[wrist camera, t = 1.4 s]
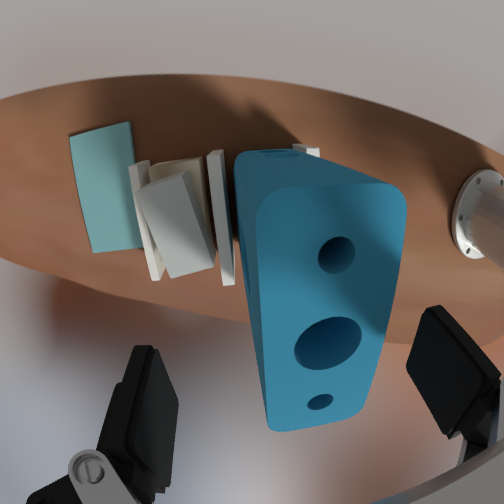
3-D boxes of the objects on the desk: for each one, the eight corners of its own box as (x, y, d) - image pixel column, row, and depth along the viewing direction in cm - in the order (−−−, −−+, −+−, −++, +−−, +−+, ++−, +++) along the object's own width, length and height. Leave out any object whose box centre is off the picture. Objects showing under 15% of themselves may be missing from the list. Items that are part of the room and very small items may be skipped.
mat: (130, 121, 24) (128, 121, 24) (150, 244, 30) (149, 246, 29) (72, 137, 24) (69, 137, 24) (95, 250, 30) (93, 252, 29)
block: (230, 146, 26) (252, 189, 8) (283, 143, 26) (408, 183, 8) (240, 263, 31) (268, 434, 13) (287, 258, 31) (360, 415, 13)
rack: (302, 143, 26) (319, 148, 21) (305, 248, 31) (320, 275, 25) (142, 161, 26) (119, 170, 21) (161, 262, 31) (146, 291, 25)
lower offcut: (203, 156, 27) (198, 159, 24) (215, 251, 31) (213, 266, 28) (158, 162, 27) (148, 167, 24) (174, 255, 31) (167, 270, 28)
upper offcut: (187, 169, 24) (181, 175, 21) (216, 252, 27) (214, 266, 24) (146, 184, 24) (135, 192, 21) (176, 263, 27) (170, 278, 25)
